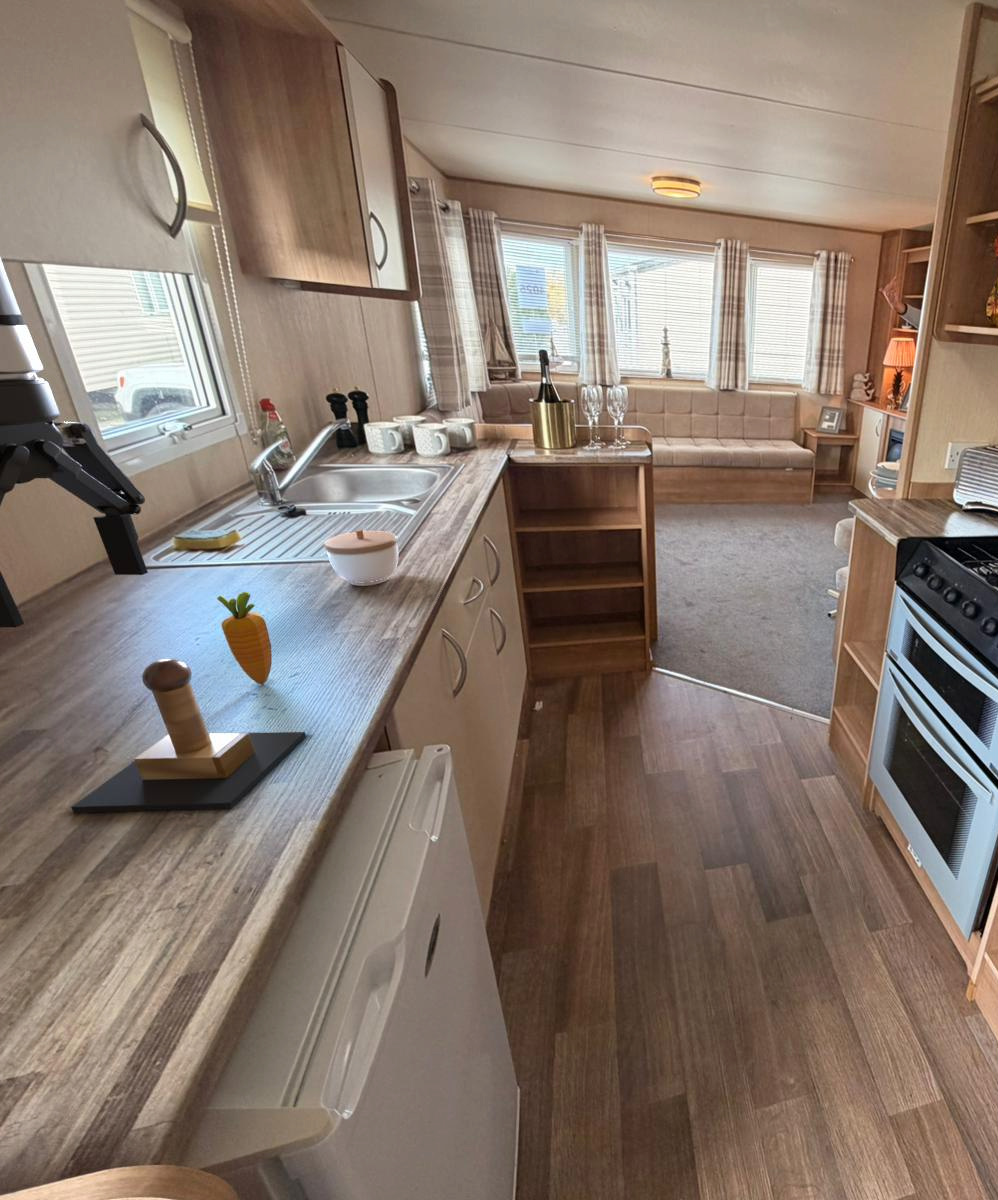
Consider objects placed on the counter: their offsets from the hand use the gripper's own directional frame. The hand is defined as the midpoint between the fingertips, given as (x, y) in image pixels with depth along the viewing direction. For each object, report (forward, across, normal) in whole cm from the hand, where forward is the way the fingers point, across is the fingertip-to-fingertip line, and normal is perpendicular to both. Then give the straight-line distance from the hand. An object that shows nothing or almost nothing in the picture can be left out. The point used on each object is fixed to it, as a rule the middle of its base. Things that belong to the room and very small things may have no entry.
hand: (74, 597), depth 64 cm
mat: (+25, -4, +2) cm, 25 cm away
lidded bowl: (+25, -69, -10) cm, 74 cm away
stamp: (+24, -4, +2) cm, 24 cm away
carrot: (+25, -25, -4) cm, 36 cm away
